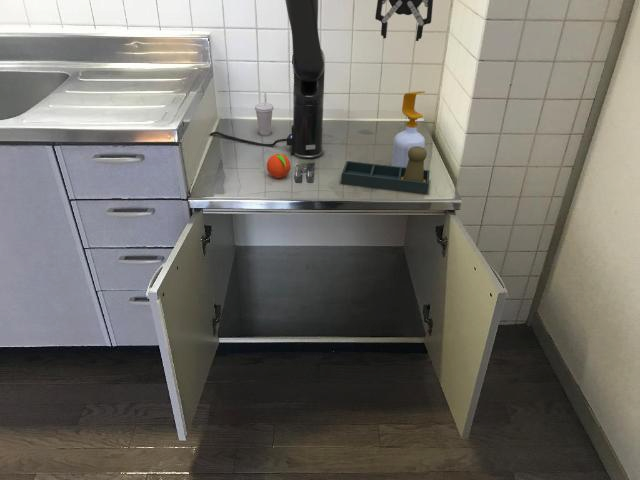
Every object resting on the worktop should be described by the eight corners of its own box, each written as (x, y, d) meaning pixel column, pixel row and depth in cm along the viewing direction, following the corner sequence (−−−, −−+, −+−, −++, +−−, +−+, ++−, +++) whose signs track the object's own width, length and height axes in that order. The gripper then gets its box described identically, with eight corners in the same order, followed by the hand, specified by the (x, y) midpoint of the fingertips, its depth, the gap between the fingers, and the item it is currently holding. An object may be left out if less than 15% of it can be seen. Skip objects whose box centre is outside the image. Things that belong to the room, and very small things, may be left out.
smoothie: (273, 137, 172) (272, 96, 164) (254, 136, 172) (252, 96, 164) (274, 130, 177) (274, 90, 170) (256, 129, 177) (255, 90, 169)
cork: (422, 189, 142) (428, 153, 136) (401, 186, 143) (406, 151, 137) (423, 180, 147) (429, 145, 141) (403, 177, 148) (407, 142, 142)
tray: (341, 183, 145) (341, 173, 143) (345, 170, 152) (346, 160, 150) (427, 194, 141) (428, 183, 139) (427, 180, 148) (429, 170, 146)
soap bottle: (402, 179, 149) (413, 97, 135) (385, 167, 155) (393, 87, 141) (426, 173, 152) (439, 93, 138) (408, 161, 159) (419, 84, 145)
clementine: (296, 180, 146) (296, 157, 142) (275, 185, 143) (275, 162, 139) (283, 169, 152) (283, 147, 148) (262, 174, 148) (262, 152, 144)
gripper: (378, -31, 121) (372, 40, 130) (438, -28, 119) (427, 44, 128) (381, -34, 127) (375, 34, 136) (438, -31, 125) (428, 38, 134)
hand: (400, 39), depth 132 cm, fingers open, 8 cm apart
